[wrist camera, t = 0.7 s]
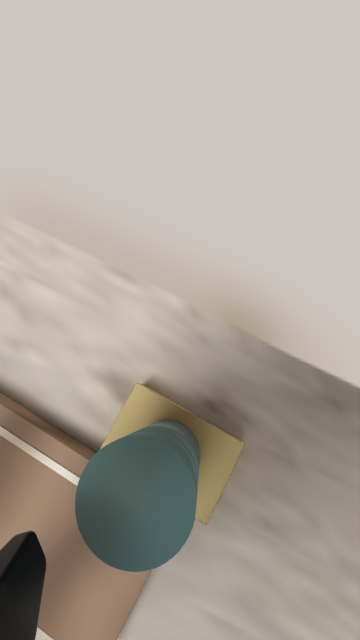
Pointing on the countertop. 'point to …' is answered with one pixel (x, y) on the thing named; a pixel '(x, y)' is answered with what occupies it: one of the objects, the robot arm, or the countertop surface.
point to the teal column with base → (152, 482)
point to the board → (59, 528)
